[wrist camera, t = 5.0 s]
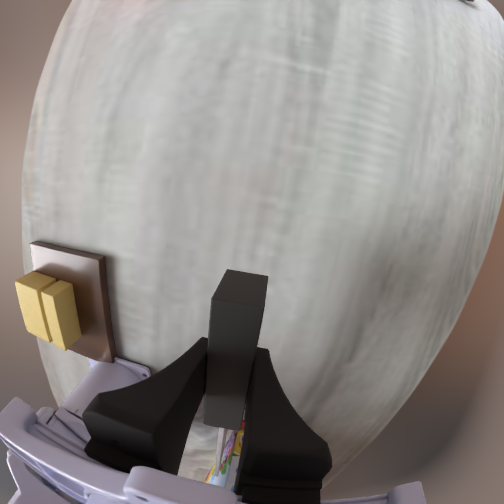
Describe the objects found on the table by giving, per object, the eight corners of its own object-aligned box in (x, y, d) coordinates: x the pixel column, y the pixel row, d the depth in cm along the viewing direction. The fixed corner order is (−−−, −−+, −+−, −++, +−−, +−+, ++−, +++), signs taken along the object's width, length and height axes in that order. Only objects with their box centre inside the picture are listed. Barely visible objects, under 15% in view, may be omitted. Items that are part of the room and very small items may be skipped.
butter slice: (82, 335, 23) (66, 351, 20) (69, 330, 23) (53, 345, 21) (72, 283, 22) (53, 296, 19) (60, 279, 22) (40, 291, 19)
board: (118, 362, 25) (114, 367, 24) (53, 335, 26) (48, 339, 25) (105, 256, 21) (98, 259, 20) (35, 240, 22) (29, 243, 21)
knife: (226, 268, 13) (210, 298, 10) (268, 275, 13) (264, 307, 10) (210, 447, 18) (201, 477, 15) (234, 452, 18) (228, 482, 15)
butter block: (66, 329, 23) (49, 343, 21) (42, 318, 24) (27, 331, 21) (56, 278, 22) (36, 290, 19) (33, 270, 22) (14, 280, 19)
